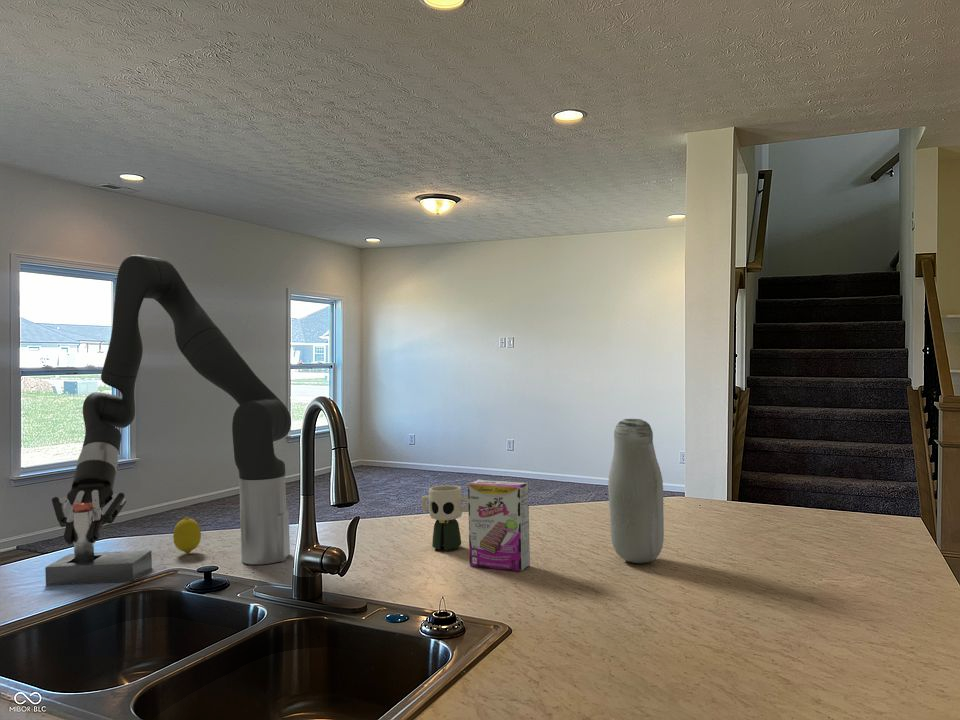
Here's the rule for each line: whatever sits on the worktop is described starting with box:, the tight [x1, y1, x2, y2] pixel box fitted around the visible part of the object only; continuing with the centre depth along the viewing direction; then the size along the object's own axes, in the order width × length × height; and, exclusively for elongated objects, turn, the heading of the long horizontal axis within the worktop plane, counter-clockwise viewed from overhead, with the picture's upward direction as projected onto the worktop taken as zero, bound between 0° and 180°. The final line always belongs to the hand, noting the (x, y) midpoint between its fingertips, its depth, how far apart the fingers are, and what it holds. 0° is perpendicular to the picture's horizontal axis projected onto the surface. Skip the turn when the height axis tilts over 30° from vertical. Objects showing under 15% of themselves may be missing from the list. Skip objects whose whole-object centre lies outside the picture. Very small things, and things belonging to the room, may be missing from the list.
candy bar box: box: [467, 479, 531, 572], centre depth 140 cm, size 11×5×16 cm, turn 65°
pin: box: [73, 501, 95, 563], centre depth 140 cm, size 3×3×12 cm
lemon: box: [172, 516, 202, 555], centre depth 155 cm, size 6×6×8 cm
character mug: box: [421, 484, 469, 550], centre depth 154 cm, size 11×7×13 cm, turn 74°
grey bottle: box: [607, 418, 665, 564], centre depth 141 cm, size 10×10×28 cm
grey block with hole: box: [44, 549, 153, 586], centre depth 140 cm, size 16×9×4 cm, turn 94°
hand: (80, 541), depth 138 cm, fingers closed on pin, 3 cm apart
